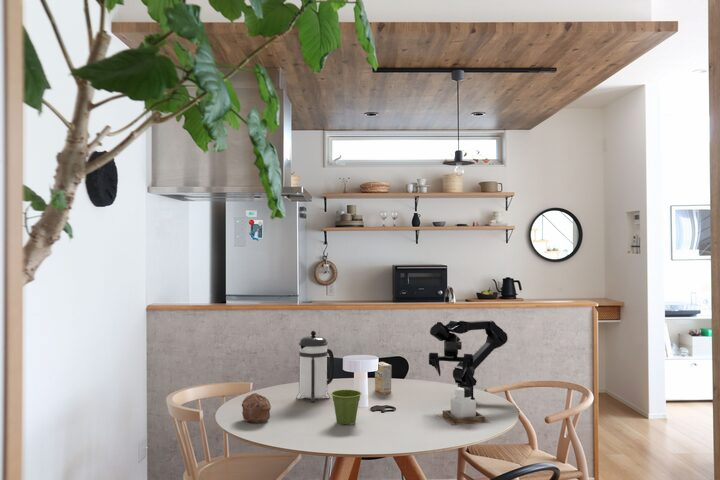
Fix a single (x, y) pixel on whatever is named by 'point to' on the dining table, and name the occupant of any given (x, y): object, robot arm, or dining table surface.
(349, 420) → the plant pot
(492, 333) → the robot arm
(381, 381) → the supplement box
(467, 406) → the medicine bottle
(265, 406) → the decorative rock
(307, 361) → the coffee press
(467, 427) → the dining table surface
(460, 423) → the walnut dock
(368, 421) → the dining table surface
